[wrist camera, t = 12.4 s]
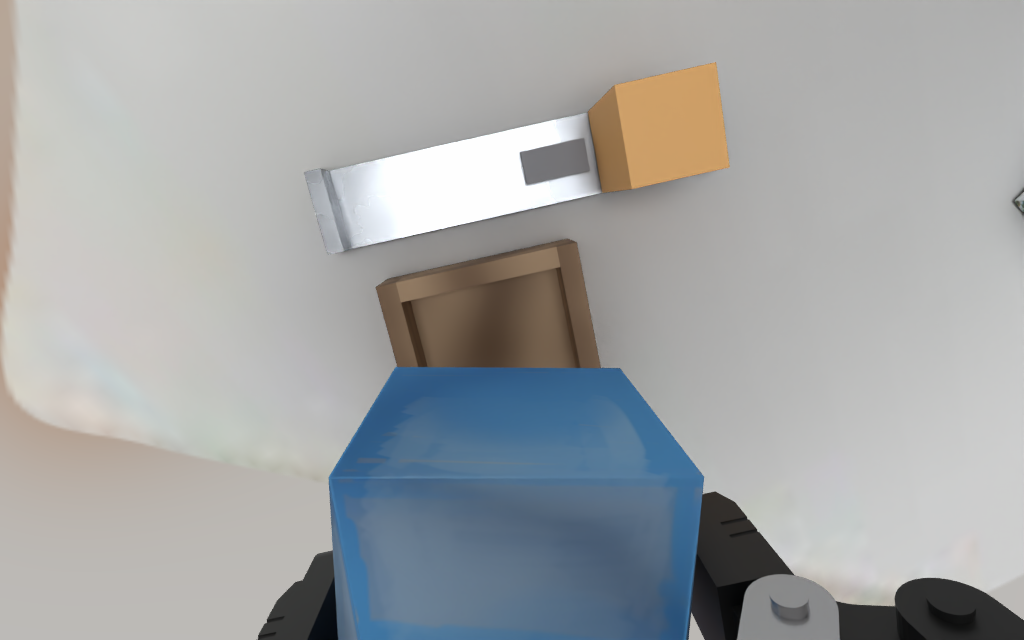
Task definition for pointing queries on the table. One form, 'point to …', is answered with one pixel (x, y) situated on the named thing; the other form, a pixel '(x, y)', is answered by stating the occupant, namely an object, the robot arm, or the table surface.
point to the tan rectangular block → (645, 133)
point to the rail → (444, 185)
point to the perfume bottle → (513, 510)
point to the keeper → (494, 312)
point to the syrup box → (1020, 202)
